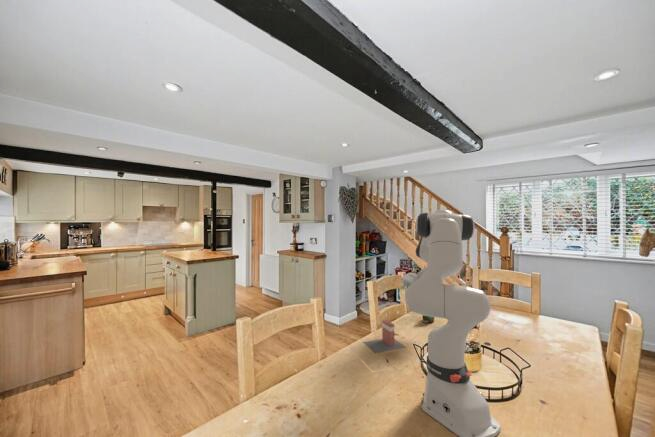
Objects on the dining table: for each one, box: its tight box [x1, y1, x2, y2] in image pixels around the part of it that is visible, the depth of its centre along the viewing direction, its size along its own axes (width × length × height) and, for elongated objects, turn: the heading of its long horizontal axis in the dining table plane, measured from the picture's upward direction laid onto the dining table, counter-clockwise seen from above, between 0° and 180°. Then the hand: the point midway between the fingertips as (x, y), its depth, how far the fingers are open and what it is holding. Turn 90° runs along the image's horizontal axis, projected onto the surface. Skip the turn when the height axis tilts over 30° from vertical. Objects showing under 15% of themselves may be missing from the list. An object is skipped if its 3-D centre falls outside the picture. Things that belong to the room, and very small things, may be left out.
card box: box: [381, 319, 395, 346], centre depth 132 cm, size 7×2×10 cm, turn 20°
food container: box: [422, 315, 435, 325], centre depth 162 cm, size 12×6×10 cm, turn 143°
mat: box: [363, 338, 406, 354], centre depth 129 cm, size 12×17×1 cm
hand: (408, 291), depth 138 cm, fingers open, 8 cm apart
